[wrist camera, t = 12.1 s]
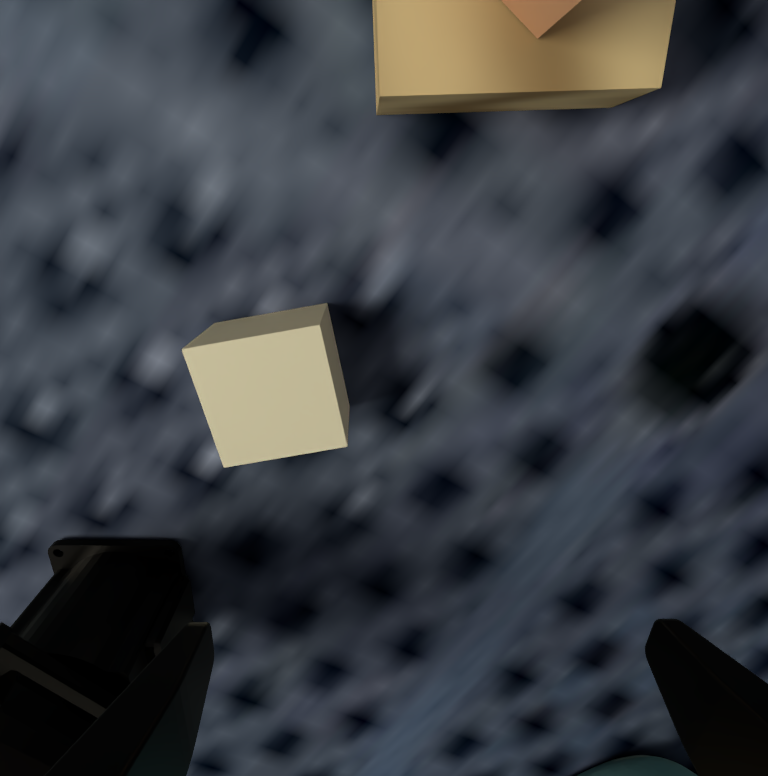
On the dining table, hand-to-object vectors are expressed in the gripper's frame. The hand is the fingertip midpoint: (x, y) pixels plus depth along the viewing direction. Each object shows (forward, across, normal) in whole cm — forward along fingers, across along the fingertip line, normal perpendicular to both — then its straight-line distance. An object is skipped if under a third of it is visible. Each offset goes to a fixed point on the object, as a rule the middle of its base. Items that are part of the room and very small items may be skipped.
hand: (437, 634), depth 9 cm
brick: (+13, +5, -1) cm, 14 cm away
